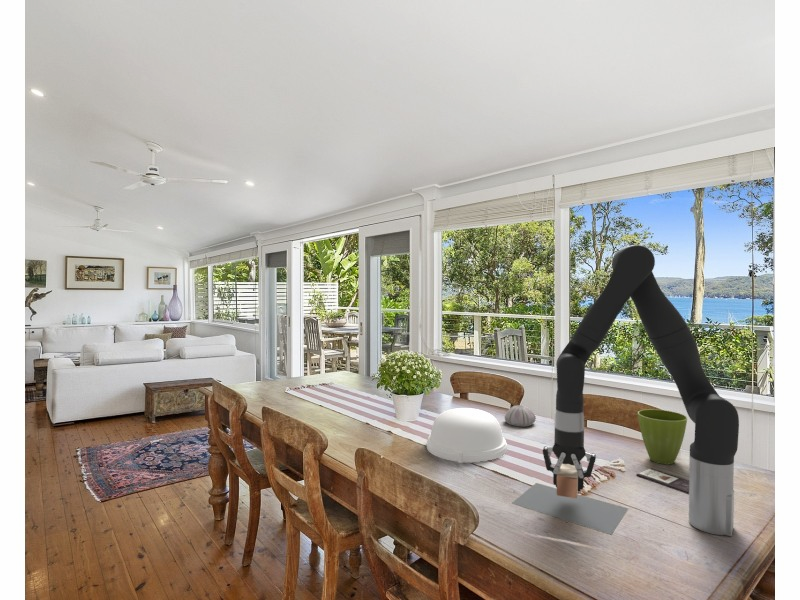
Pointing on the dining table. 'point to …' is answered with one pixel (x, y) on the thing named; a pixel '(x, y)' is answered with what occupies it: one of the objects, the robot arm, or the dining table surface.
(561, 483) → the birch block
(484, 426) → the dome cover
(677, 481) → the chocolate bar
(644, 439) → the flower pot
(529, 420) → the sea urchin shell
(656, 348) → the robot arm
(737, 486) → the dining table surface
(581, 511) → the rubber mat
